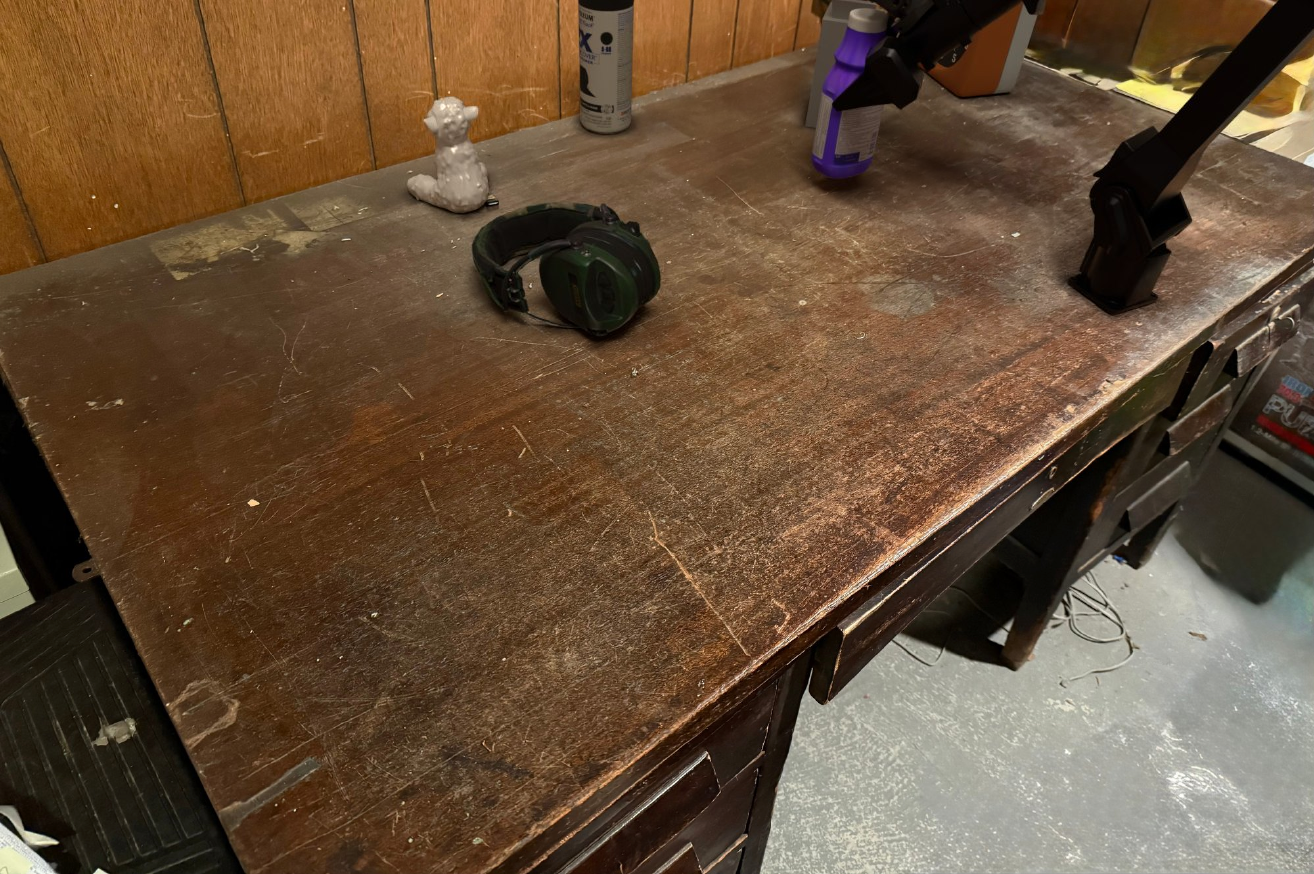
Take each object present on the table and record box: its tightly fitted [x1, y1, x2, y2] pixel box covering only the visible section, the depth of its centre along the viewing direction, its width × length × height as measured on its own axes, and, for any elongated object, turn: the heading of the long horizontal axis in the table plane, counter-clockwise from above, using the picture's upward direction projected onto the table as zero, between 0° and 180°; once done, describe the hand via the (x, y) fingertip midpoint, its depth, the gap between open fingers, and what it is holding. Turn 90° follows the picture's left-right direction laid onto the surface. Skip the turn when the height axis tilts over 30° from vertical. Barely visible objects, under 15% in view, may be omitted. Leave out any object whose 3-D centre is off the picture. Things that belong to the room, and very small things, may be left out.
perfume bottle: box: [804, 0, 885, 129], centre depth 113 cm, size 7×7×18 cm
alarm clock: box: [918, 2, 1038, 98], centre depth 125 cm, size 18×9×21 cm, turn 17°
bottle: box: [810, 8, 889, 180], centre depth 98 cm, size 7×6×17 cm
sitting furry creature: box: [406, 96, 490, 214], centre depth 96 cm, size 10×9×12 cm
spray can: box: [577, 0, 635, 135], centre depth 109 cm, size 7×7×20 cm
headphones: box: [471, 201, 662, 337], centre depth 85 cm, size 13×13×20 cm
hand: (841, 94), depth 99 cm, fingers closed on bottle, 7 cm apart
